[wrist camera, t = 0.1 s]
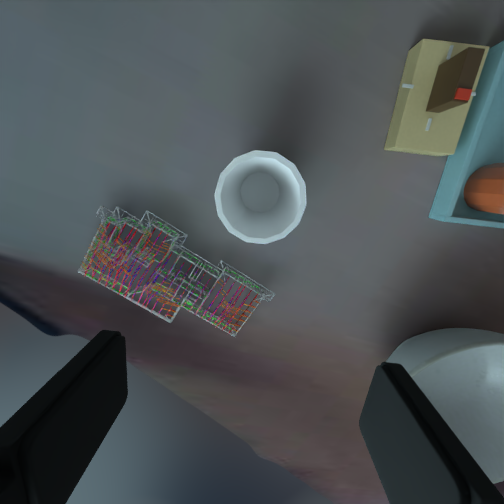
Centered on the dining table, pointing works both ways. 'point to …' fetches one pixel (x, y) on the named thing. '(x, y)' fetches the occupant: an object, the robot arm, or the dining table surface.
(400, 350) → the decorative bowl
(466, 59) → the brown switch lever
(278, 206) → the foam cup
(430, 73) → the switch panel
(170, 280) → the pink plastic packet
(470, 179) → the cup
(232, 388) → the dining table surface
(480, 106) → the blue tray
